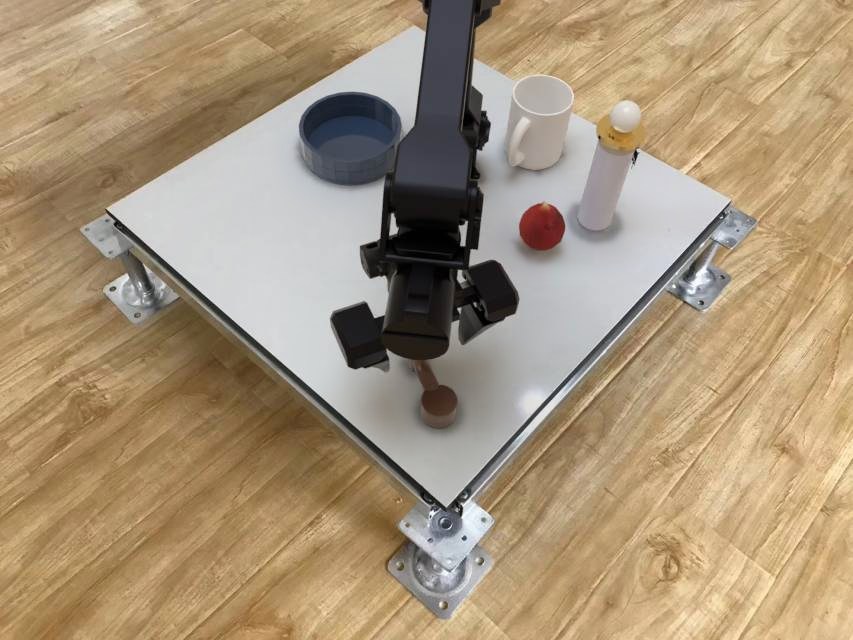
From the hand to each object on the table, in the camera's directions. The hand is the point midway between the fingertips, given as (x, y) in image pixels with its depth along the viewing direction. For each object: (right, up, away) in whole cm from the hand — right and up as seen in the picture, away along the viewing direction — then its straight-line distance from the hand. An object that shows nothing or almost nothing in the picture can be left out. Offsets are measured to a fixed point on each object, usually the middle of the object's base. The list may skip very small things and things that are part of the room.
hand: (423, 355), depth 85 cm
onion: (+15, +14, +17) cm, 26 cm away
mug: (+15, +27, +26) cm, 40 cm away
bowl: (-10, +28, +26) cm, 40 cm away
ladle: (0, -4, +4) cm, 6 cm away
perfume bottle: (+23, +17, +19) cm, 34 cm away
